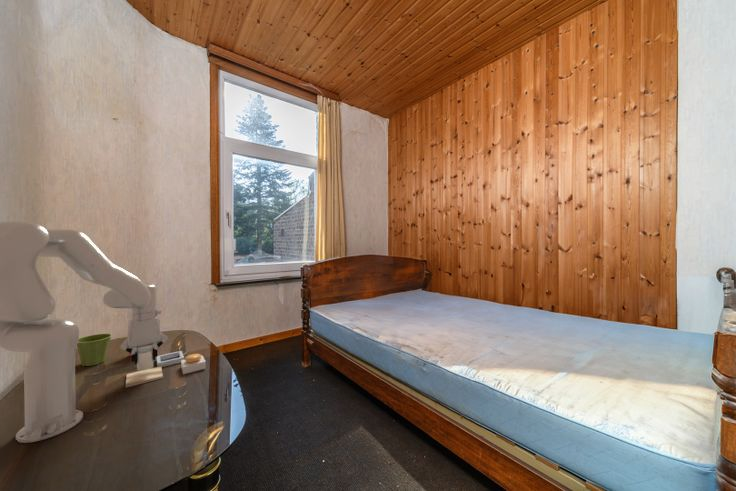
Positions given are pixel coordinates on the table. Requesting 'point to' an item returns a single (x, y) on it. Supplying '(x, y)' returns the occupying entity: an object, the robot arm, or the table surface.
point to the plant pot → (93, 348)
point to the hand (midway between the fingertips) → (145, 360)
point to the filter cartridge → (144, 357)
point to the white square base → (193, 365)
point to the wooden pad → (143, 376)
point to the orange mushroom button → (193, 358)
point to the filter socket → (168, 356)
